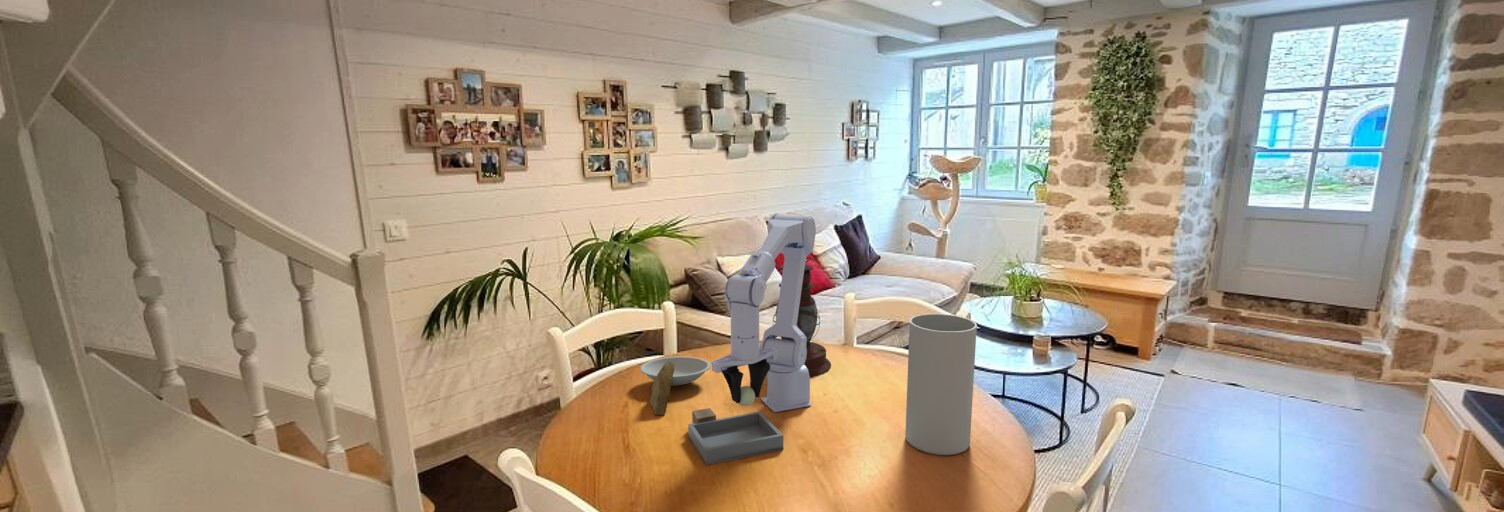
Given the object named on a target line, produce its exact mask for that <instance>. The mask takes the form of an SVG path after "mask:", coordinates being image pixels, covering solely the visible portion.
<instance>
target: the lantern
mask: <svg viewBox="0 0 1504 512" xmlns="http://www.w3.org/2000/svg"><path fill="white" fill-rule="evenodd" d="M811 259H812V257H811V256H810V257H806V262H805V269H804V276H803V283H802V290H801V297H800V304H799V311H798V319H797V327H798V328H799V329H800V330H801V331H802V332H803V333H804V335H805V336H806V339H807V342H806V348H807V356H806V361H805V363H804V365H805V366H806V367H807V369H808V372H809V376H810V378H813V377H817V376H821V375H824V374H826V373H828V372H829V371H830V370H831V369H832V363H831V361H830V360H829V359H828V358H827V349H826V348H825V347H824V346H823V345H821V344H819V343H817V342H814V341H812V339H813V338H814V337H815V336H817V334H818V332H819V329H820V325H821V318H820V314H819V312H818V307H817V304H816V301H815V299H814V297H813V296H812V295H811V289H813V288H814V287H815V284H813V283H812V282H811V280H812V275H811V271H812V270H814V266H812V265H809V264H806V263H807V262H809V261H811ZM783 267H784V264H782V265H781V266H780V270H781V271H783ZM778 286H779V288H780V287H781V283H779V284H778ZM778 301H779V299H778ZM778 301H777V302H778ZM777 308H778V303H777V304H776V309H775V313H774V315H773V317H772V322H773V323H775V322H776V320H775V318H776V315H777ZM818 319H819V322H818ZM817 326H818V329H817V331H816V328H817ZM815 331H816V333H815ZM814 334H815V335H814ZM780 339H786V340H793V341H795V340H794V339H793V338H787V337H780ZM829 369H830V370H829ZM828 370H829V371H828ZM827 371H828V372H827Z"/></svg>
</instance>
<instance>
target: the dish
mask: <svg viewBox="0 0 1504 512" xmlns="http://www.w3.org/2000/svg"><path fill="white" fill-rule="evenodd" d="M667 362H671V363H672V364H674V365H675V368H674V373H673V378H672V383H671V386H673V387H678V386H681V385H687V384H689V383H692V382H694V381H696V380H698V379H699V378H701V377H702V376H703V375H704V374H705V372H707V371H709V370H710V369H711V368H712V363H710V361H708V360H707V359H704V358H700V357H694V356H682V355H681V356H667V357H660V358H655V359H652V360H648V361H647V362H646V361H645V362H644V363H643V364H641V366H640V368H639V369H640V372H641V373H643V374H645V375H646V376H647V377H648V378H649V379H650V380H653V382H654V381H655V380H656V376H657V375H658V373H659V371H660V370H661V369H662V367H663V365H664V364H666V363H667Z"/></svg>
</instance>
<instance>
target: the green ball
mask: <svg viewBox="0 0 1504 512" xmlns="http://www.w3.org/2000/svg"><path fill="white" fill-rule="evenodd" d="M755 400H756V397H755V392H754V390H753V389H752V388H751V387H750V386H748V385H744V386H743V385H742V386H741V401H740V403H738V404H739V405H740V406H743V407H748V406H750V405H752V404H753V403H754V402H755Z"/></svg>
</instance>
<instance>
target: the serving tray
mask: <svg viewBox="0 0 1504 512" xmlns="http://www.w3.org/2000/svg"><path fill="white" fill-rule="evenodd" d="M687 425H688V427H687V428H688V439H689V441H690V442H691V444H692V446H693V447H694V448H695V450H696V451H697V453H698V455H699V457H700V458H701V459H702V461H703V463H704V464H705V466H711V465H715V464H719V463H723V462H729V461H734V460H738V459H743V458H749V457H754V456H757V455H758V456H759V455H763V454H768V453H772V452H778V451H783V450H784V434H783V433H782V432H781V431H780V430H779V429H778V428H777V427H776V426H775V425H774V424H773V422H771V421H770V420H769V419H768V418H767V417H766V416H765V415H764V413H763V412H761V411H755V412H750V413H744V414H738V415H732V416H727V417H722V418H716V419H715V420H709V421H704V422H698V423H693V424H692V423H688V424H687Z"/></svg>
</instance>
